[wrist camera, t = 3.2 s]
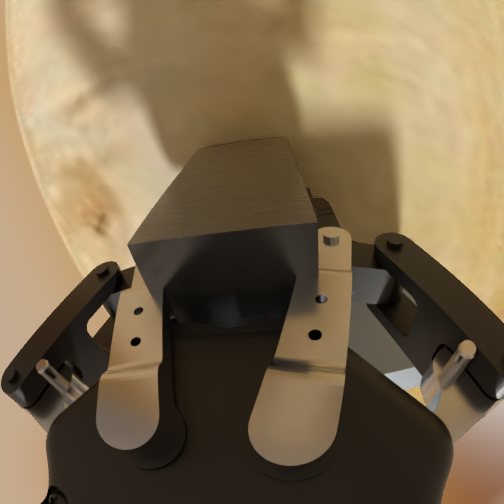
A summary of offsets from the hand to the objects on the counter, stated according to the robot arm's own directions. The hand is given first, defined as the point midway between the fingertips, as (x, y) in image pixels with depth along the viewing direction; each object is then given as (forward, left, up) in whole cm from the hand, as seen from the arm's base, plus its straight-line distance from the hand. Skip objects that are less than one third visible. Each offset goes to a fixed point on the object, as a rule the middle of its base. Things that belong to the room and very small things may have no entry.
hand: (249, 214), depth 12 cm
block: (0, 0, -2) cm, 2 cm away
